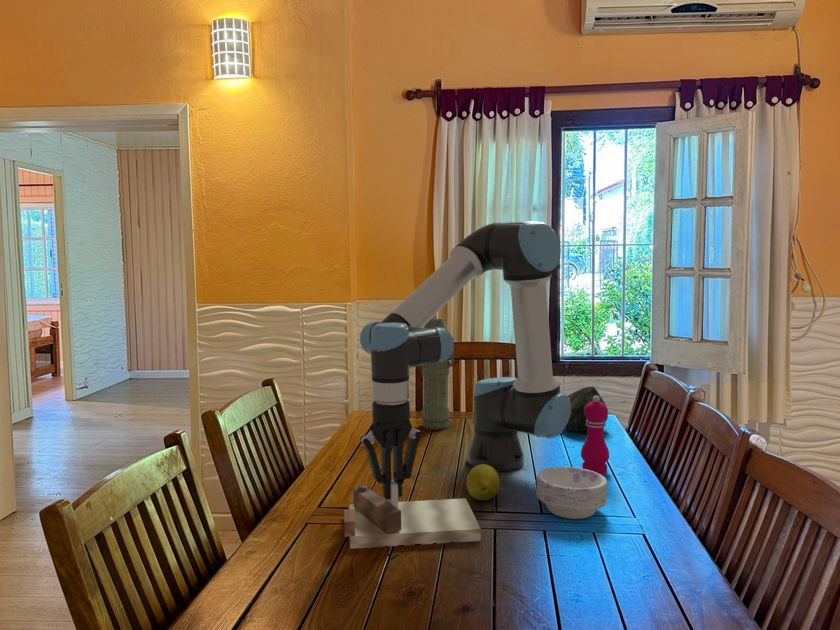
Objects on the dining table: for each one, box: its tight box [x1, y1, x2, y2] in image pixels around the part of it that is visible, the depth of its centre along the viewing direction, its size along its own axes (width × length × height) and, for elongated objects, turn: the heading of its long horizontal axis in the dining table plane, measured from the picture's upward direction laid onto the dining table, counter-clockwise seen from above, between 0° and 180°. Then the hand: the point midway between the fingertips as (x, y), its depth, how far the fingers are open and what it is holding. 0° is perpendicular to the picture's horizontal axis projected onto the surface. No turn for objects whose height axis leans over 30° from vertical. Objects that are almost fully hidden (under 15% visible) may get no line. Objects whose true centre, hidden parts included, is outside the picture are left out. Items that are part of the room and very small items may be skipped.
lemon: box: [465, 464, 501, 501], centre depth 152 cm, size 11×8×8 cm
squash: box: [564, 386, 609, 432], centre depth 208 cm, size 14×15×15 cm
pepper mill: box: [580, 396, 610, 476], centre depth 171 cm, size 7×7×20 cm
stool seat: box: [343, 497, 482, 550], centre depth 138 cm, size 27×16×6 cm, turn 97°
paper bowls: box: [536, 466, 608, 520], centre depth 146 cm, size 15×15×8 cm
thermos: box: [421, 318, 455, 431], centre depth 213 cm, size 9×12×35 cm
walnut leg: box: [352, 485, 401, 534], centre depth 136 cm, size 16×3×5 cm, turn 31°
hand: (393, 512), depth 135 cm, fingers closed
